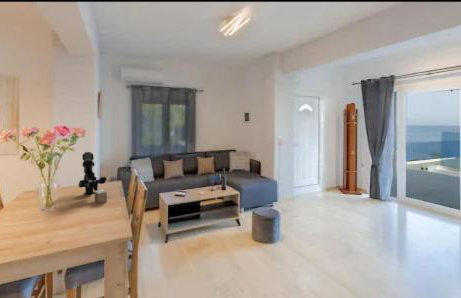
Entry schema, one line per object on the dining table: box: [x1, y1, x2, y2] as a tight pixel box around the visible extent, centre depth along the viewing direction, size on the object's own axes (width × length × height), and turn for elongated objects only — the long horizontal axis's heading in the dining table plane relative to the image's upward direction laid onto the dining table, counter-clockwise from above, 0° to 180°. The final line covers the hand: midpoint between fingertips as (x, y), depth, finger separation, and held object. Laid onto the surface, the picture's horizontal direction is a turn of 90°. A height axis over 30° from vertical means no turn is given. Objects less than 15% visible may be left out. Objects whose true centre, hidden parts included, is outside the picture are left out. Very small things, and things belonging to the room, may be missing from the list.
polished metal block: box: [93, 189, 108, 204], centre depth 192 cm, size 6×6×8 cm
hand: (96, 191), depth 195 cm, fingers closed
